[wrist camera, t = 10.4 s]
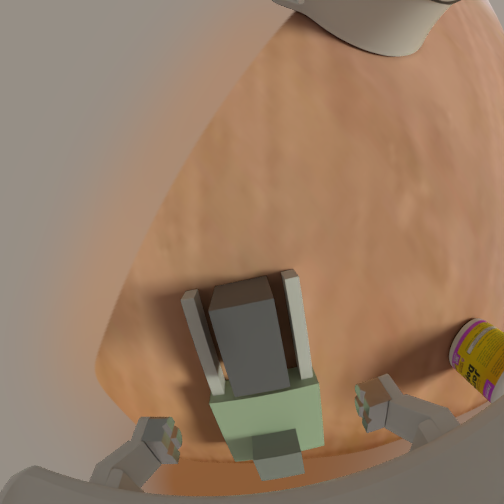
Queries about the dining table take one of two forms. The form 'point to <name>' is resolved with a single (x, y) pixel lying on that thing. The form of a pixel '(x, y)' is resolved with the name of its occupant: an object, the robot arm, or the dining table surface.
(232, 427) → the two-prong power plug
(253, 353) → the grey rectangular block
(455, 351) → the supplement bottle
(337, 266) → the dining table surface
